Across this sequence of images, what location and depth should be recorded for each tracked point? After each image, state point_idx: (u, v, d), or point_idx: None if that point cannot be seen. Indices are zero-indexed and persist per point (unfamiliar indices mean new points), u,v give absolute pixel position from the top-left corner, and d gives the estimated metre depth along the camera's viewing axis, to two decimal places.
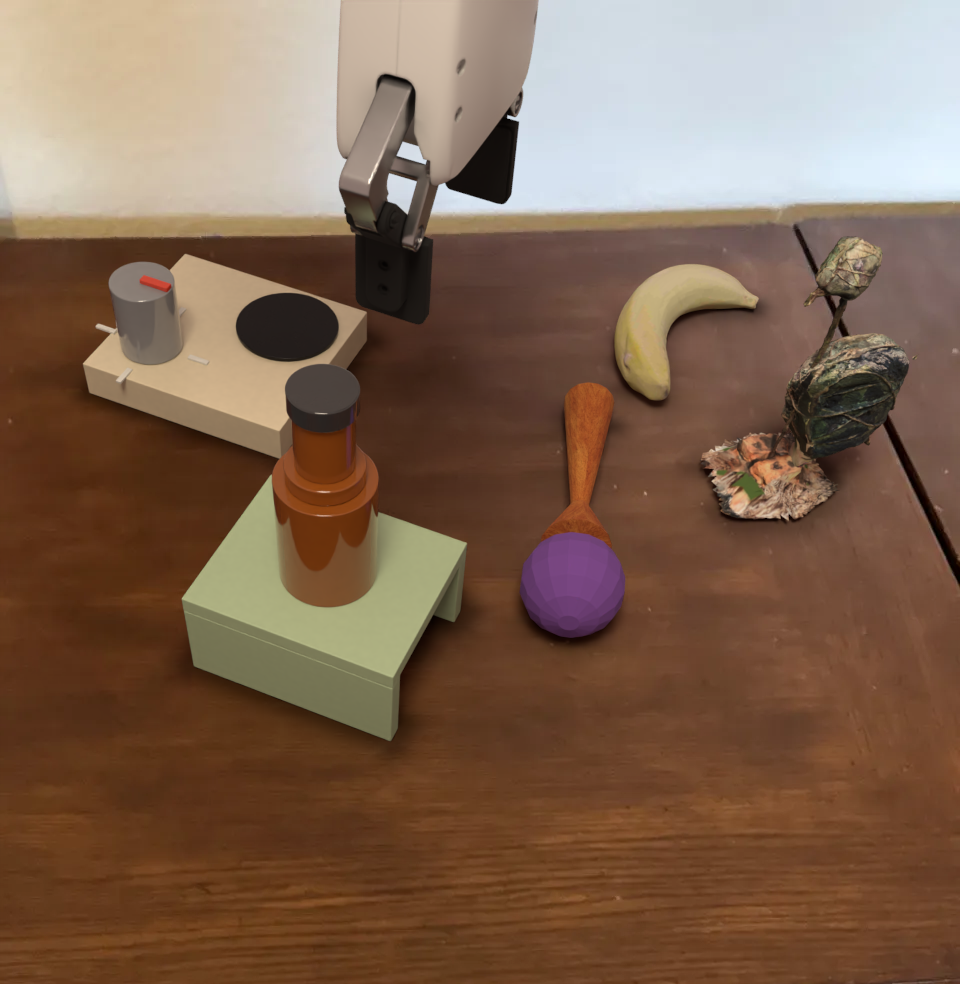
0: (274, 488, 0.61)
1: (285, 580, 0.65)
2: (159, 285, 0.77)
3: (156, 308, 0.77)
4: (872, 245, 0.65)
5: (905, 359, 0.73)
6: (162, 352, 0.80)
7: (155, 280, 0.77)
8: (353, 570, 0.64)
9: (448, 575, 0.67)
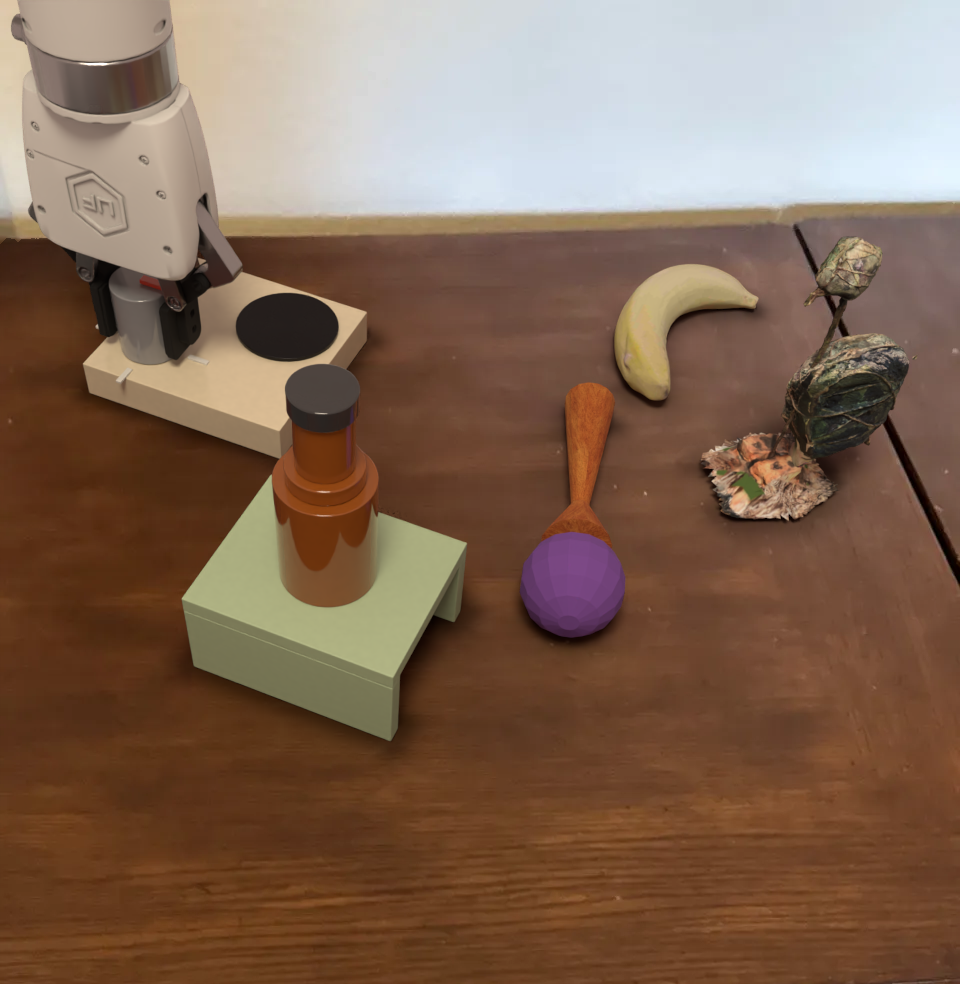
0: (274, 488, 0.61)
1: (285, 580, 0.65)
2: (159, 285, 0.77)
3: (156, 308, 0.77)
4: (872, 245, 0.65)
5: (905, 359, 0.73)
6: (162, 352, 0.80)
7: (155, 280, 0.77)
8: (353, 570, 0.64)
9: (448, 575, 0.67)
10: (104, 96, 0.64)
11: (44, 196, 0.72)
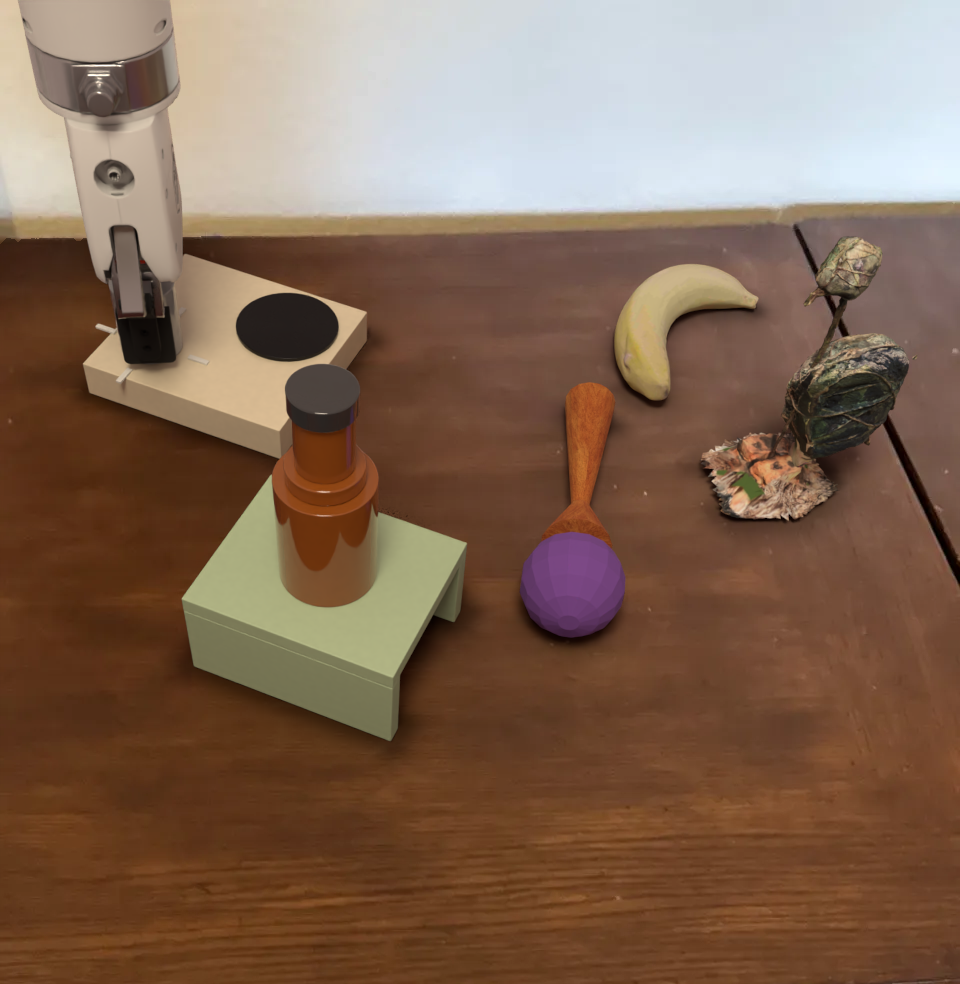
0: (274, 488, 0.61)
1: (285, 580, 0.65)
2: (144, 262, 0.78)
3: None
4: (872, 245, 0.65)
5: (905, 359, 0.73)
6: None
7: None
8: (353, 570, 0.64)
9: (448, 575, 0.67)
10: None
11: (174, 226, 0.71)
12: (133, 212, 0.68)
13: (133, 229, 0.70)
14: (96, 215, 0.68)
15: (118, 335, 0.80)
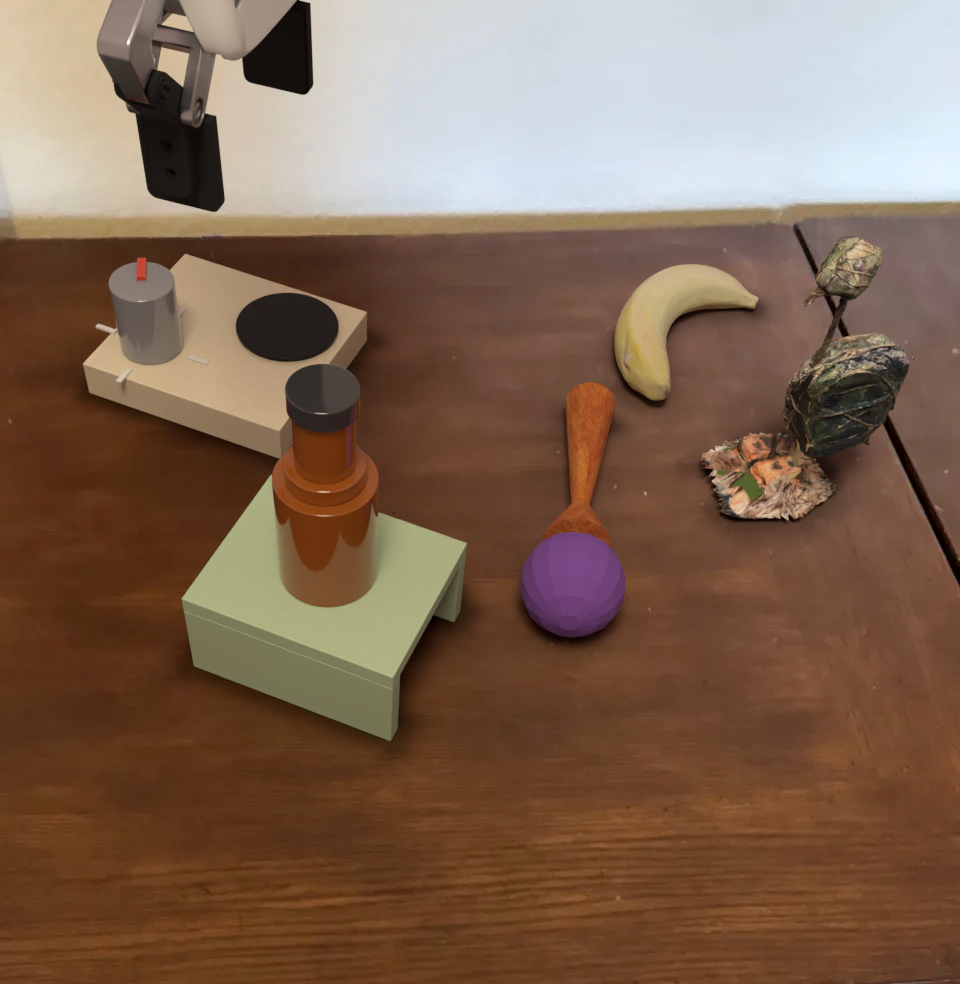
0: (274, 488, 0.61)
1: (285, 580, 0.65)
2: (144, 262, 0.78)
3: None
4: (872, 245, 0.65)
5: (905, 359, 0.73)
6: None
7: (139, 267, 0.78)
8: (353, 570, 0.64)
9: (448, 575, 0.67)
10: None
11: None
12: None
13: None
14: None
15: (118, 335, 0.80)
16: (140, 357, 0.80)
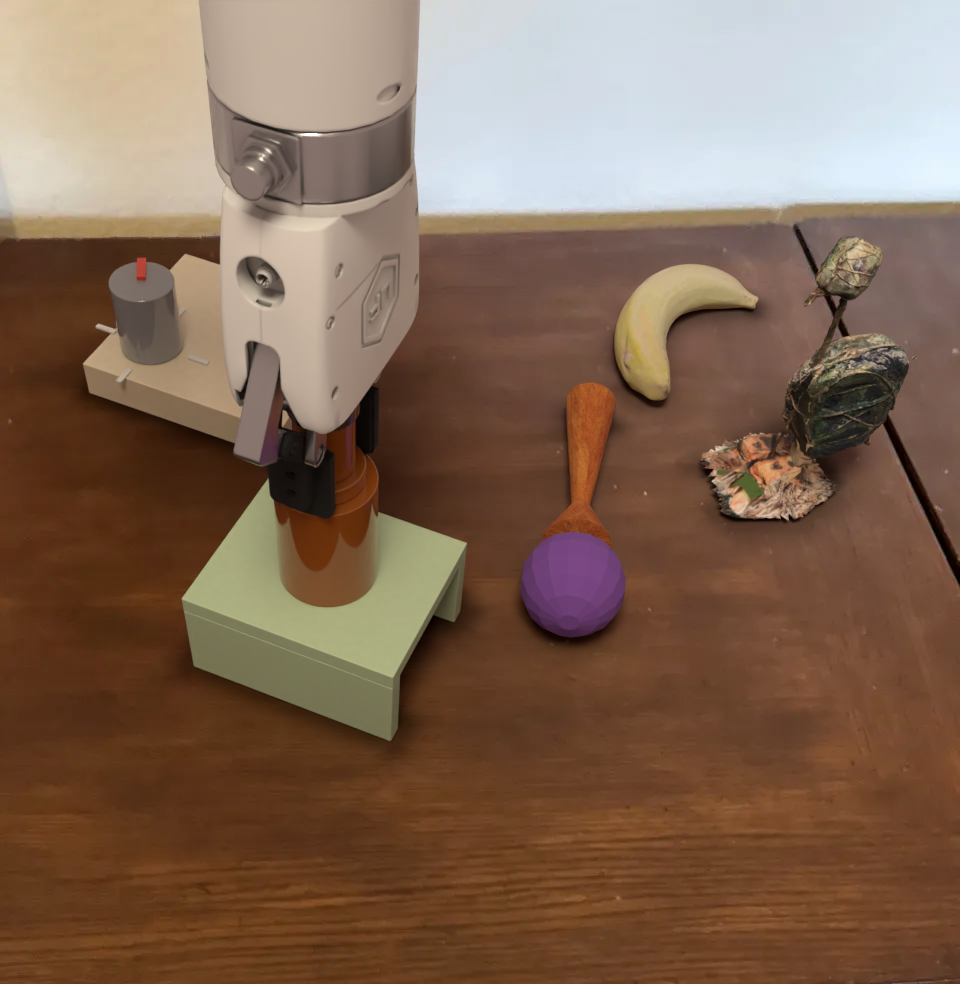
0: None
1: (285, 580, 0.65)
2: (144, 262, 0.78)
3: None
4: (872, 245, 0.65)
5: (905, 359, 0.73)
6: None
7: (139, 267, 0.78)
8: (353, 570, 0.64)
9: (448, 575, 0.67)
10: None
11: (340, 365, 0.50)
12: (277, 333, 0.48)
13: None
14: (233, 321, 0.49)
15: (118, 335, 0.80)
16: (140, 357, 0.80)
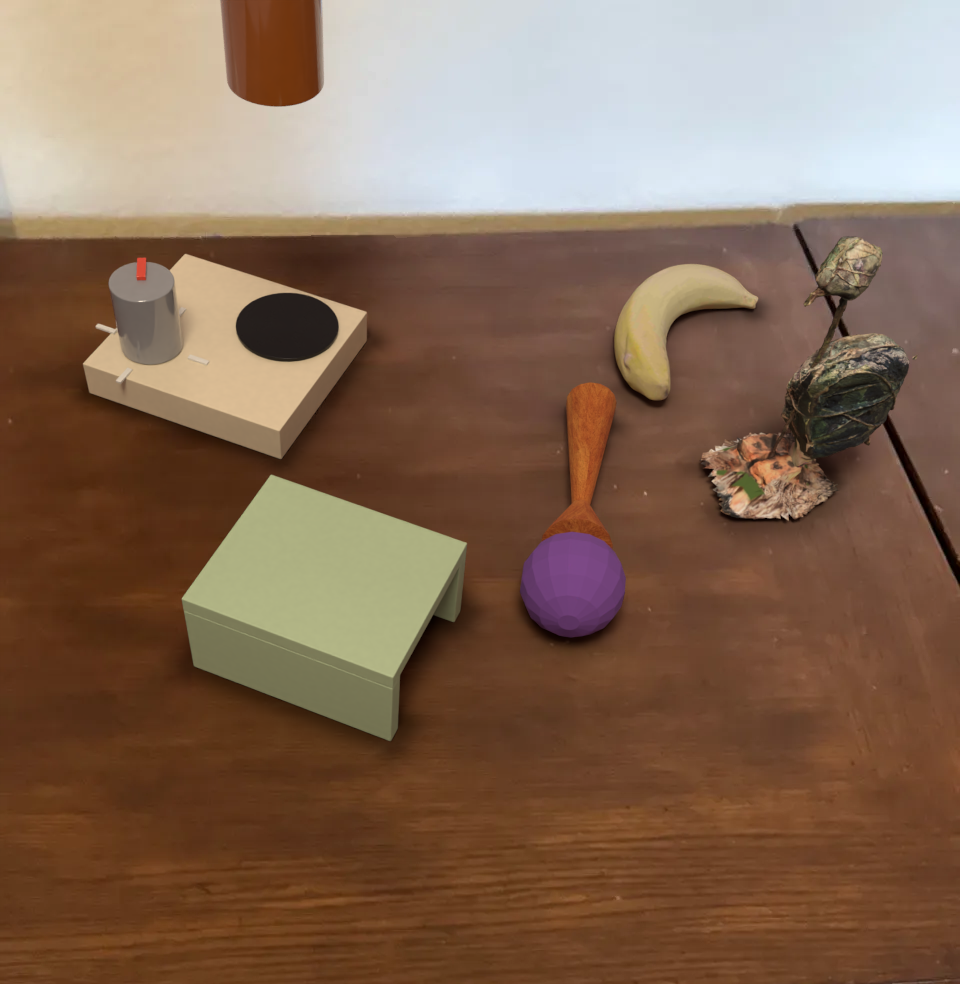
0: None
1: (232, 78, 0.66)
2: (144, 262, 0.78)
3: None
4: (872, 245, 0.65)
5: (905, 359, 0.73)
6: None
7: (139, 267, 0.78)
8: (298, 57, 0.65)
9: (448, 575, 0.67)
10: None
11: None
12: None
13: None
14: None
15: (118, 335, 0.80)
16: (140, 357, 0.80)
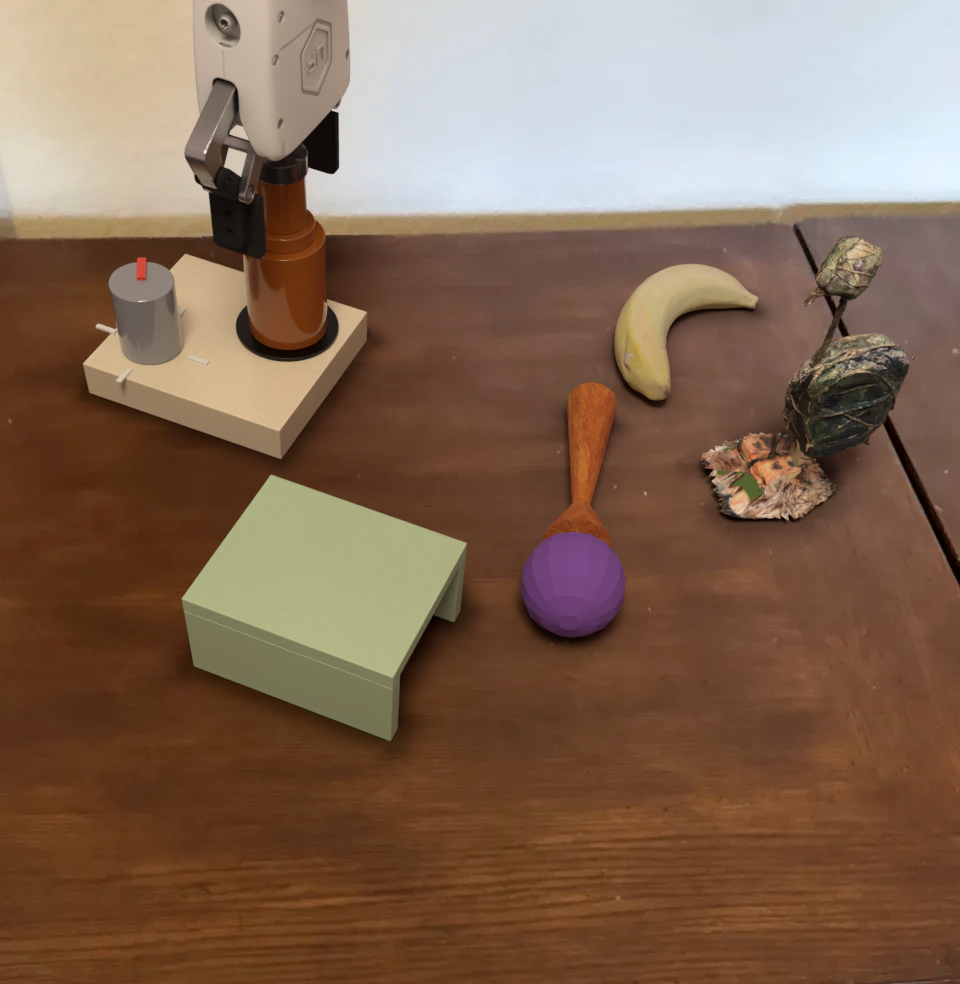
0: None
1: (253, 328, 0.82)
2: (144, 262, 0.78)
3: None
4: (872, 245, 0.65)
5: (905, 359, 0.73)
6: None
7: (139, 267, 0.78)
8: (306, 315, 0.80)
9: (448, 575, 0.67)
10: None
11: (284, 101, 0.66)
12: (236, 68, 0.64)
13: None
14: (203, 62, 0.65)
15: (118, 335, 0.80)
16: (140, 357, 0.80)
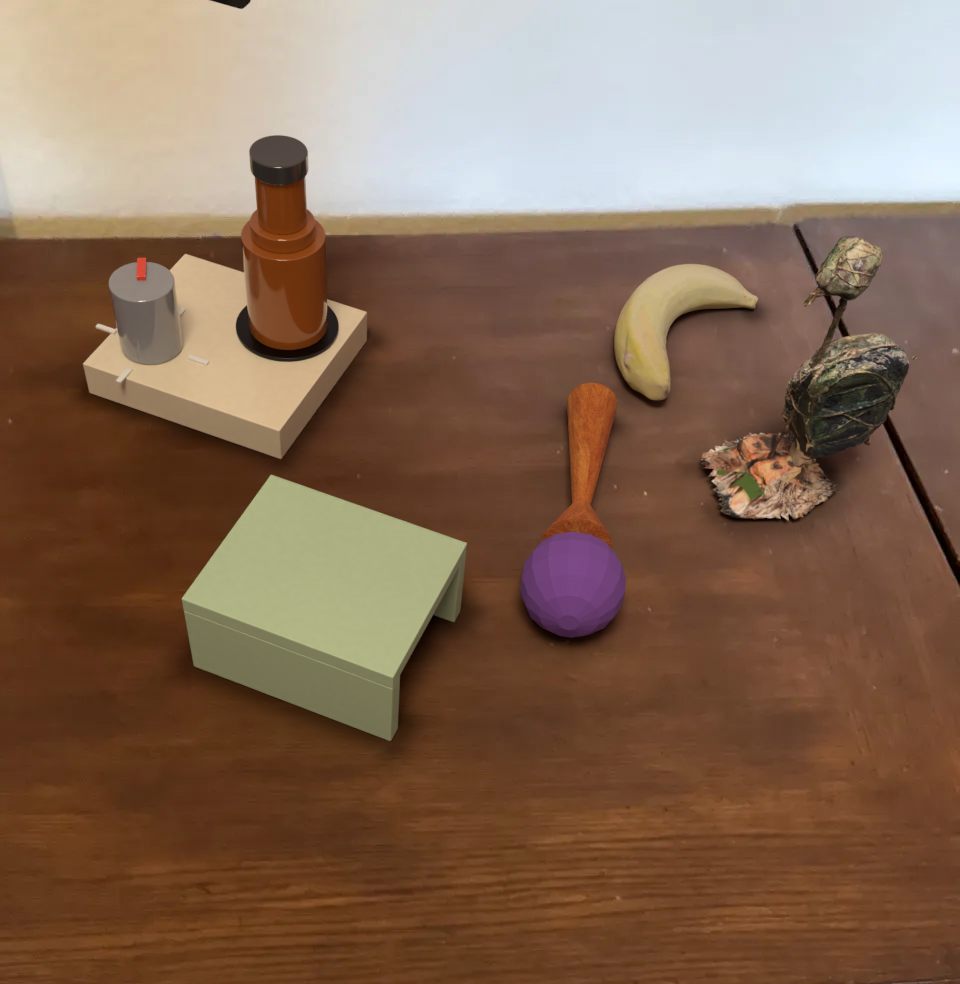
0: (243, 241, 0.77)
1: (253, 328, 0.82)
2: (144, 262, 0.78)
3: None
4: (872, 245, 0.65)
5: (905, 359, 0.73)
6: None
7: (139, 267, 0.78)
8: (306, 315, 0.80)
9: (448, 575, 0.67)
10: None
11: None
12: None
13: None
14: None
15: (118, 335, 0.80)
16: (140, 357, 0.80)
